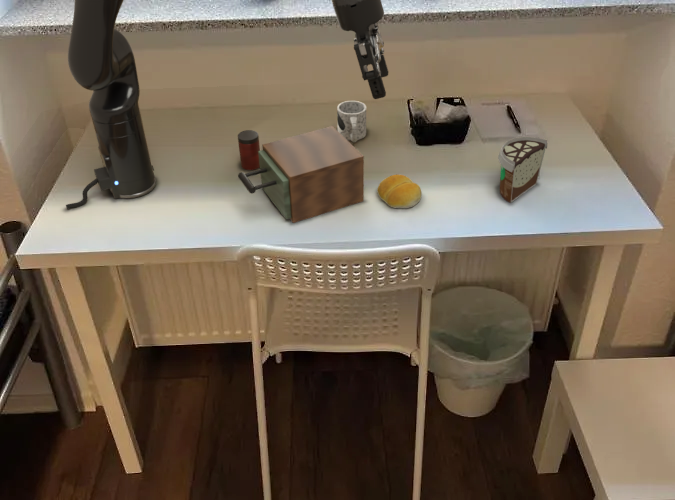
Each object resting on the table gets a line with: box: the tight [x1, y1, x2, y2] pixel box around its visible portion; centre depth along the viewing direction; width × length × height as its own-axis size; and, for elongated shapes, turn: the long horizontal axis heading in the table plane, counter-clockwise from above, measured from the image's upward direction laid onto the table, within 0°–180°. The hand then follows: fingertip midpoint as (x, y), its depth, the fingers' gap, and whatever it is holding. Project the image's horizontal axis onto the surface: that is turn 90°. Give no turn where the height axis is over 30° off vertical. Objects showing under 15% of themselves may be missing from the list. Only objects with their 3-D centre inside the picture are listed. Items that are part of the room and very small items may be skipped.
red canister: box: [237, 129, 261, 171], centre depth 152 cm, size 4×4×7 cm
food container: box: [497, 136, 548, 204], centre depth 142 cm, size 12×6×10 cm, turn 134°
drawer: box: [237, 149, 291, 220], centre depth 140 cm, size 20×12×9 cm, turn 117°
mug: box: [336, 100, 367, 143], centre depth 160 cm, size 10×7×7 cm, turn 4°
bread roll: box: [376, 173, 422, 209], centre depth 142 cm, size 8×9×4 cm
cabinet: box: [261, 125, 365, 224], centre depth 141 cm, size 16×14×11 cm
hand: (381, 86), depth 120 cm, fingers open, 8 cm apart
